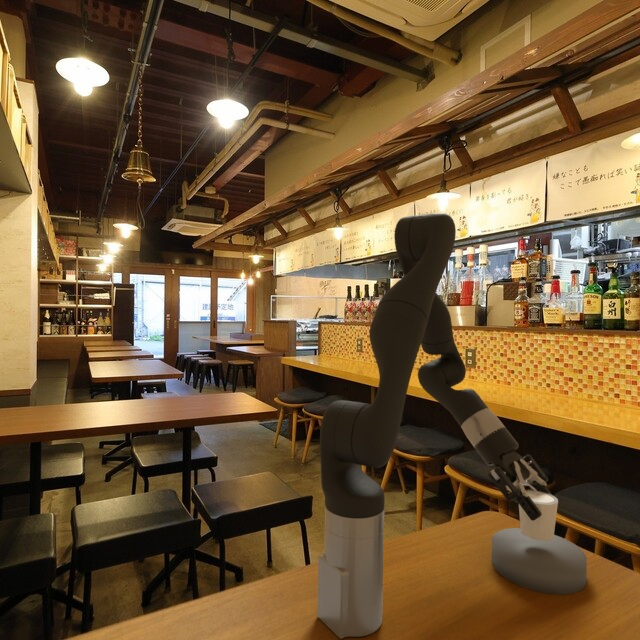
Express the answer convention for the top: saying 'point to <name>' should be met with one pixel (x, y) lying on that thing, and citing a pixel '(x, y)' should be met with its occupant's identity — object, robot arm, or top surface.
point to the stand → (539, 562)
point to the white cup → (546, 522)
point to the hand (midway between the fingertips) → (546, 512)
